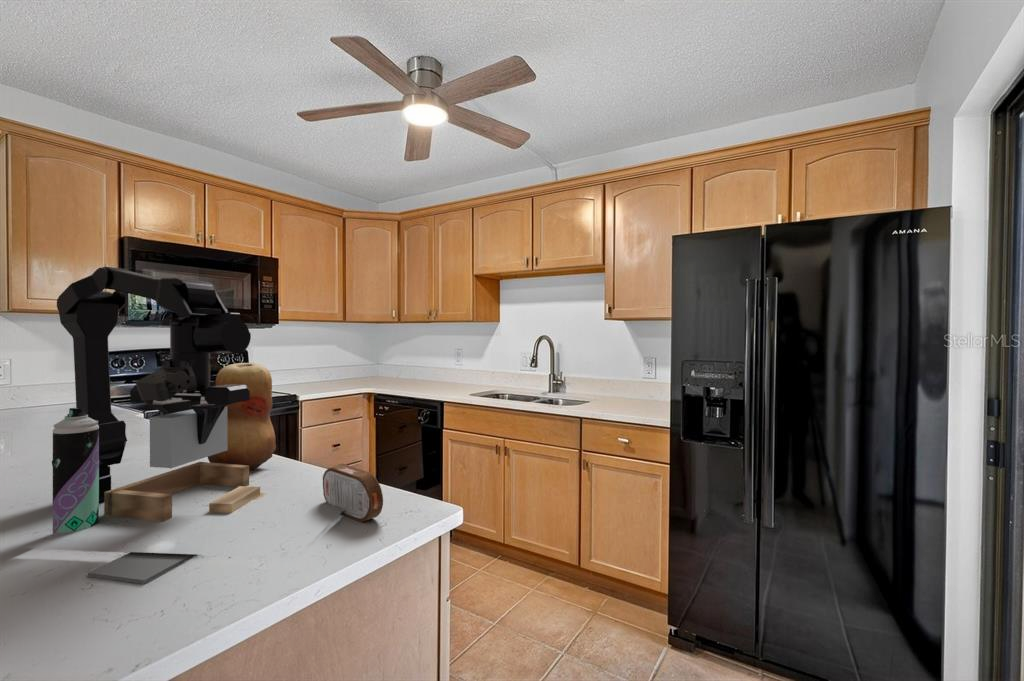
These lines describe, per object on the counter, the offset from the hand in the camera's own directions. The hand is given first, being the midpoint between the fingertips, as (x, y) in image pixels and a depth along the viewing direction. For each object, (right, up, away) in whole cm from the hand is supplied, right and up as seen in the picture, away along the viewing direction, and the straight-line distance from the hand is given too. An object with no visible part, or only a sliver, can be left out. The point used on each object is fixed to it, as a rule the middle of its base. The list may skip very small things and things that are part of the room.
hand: (191, 443), depth 83 cm
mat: (+5, -14, -12) cm, 19 cm away
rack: (-6, -13, +7) cm, 16 cm away
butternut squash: (-7, -13, +28) cm, 31 cm away
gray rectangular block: (0, -3, 0) cm, 3 cm away
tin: (+26, -14, +3) cm, 30 cm away
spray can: (-14, -13, -6) cm, 20 cm away
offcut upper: (+5, -12, +5) cm, 14 cm away
